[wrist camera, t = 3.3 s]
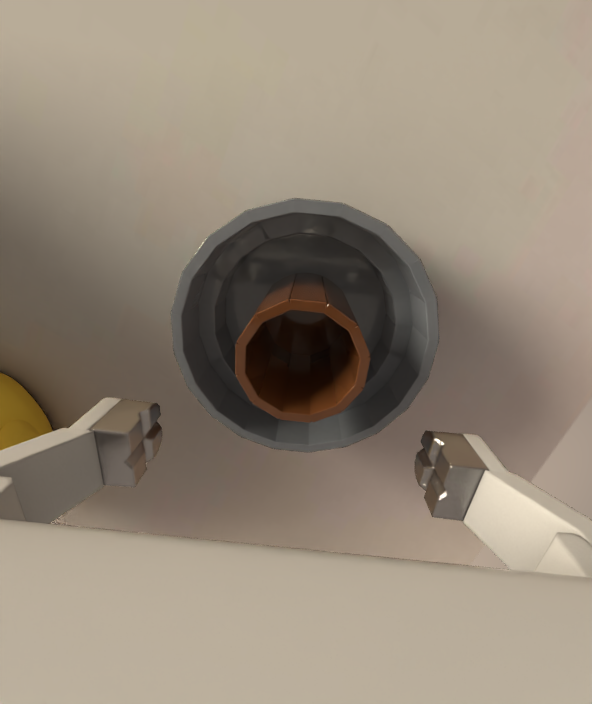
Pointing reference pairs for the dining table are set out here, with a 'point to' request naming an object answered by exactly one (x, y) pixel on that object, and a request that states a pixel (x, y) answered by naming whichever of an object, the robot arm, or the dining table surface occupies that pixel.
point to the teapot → (19, 414)
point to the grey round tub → (336, 265)
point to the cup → (302, 351)
